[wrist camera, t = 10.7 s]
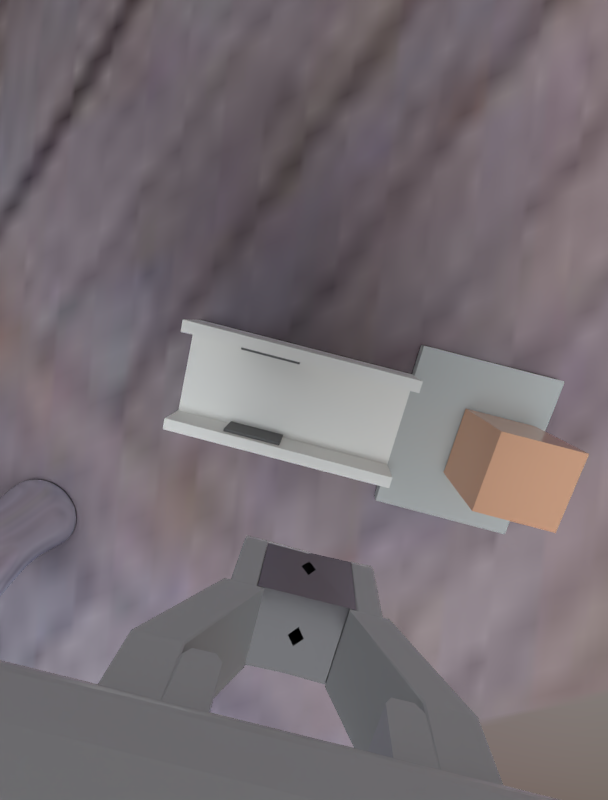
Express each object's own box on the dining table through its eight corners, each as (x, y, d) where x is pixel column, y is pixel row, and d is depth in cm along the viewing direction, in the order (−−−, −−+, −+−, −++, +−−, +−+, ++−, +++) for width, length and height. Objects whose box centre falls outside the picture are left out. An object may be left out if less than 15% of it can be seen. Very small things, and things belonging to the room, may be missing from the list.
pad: (421, 344, 28) (424, 345, 28) (557, 379, 28) (564, 381, 27) (374, 495, 31) (375, 500, 30) (499, 528, 31) (504, 534, 30)
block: (465, 408, 28) (501, 431, 22) (534, 426, 28) (589, 453, 22) (443, 472, 29) (472, 511, 23) (509, 490, 29) (555, 532, 23)
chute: (200, 319, 29) (182, 319, 26) (412, 374, 29) (423, 381, 25) (181, 416, 31) (162, 429, 27) (382, 469, 30) (389, 488, 27)
